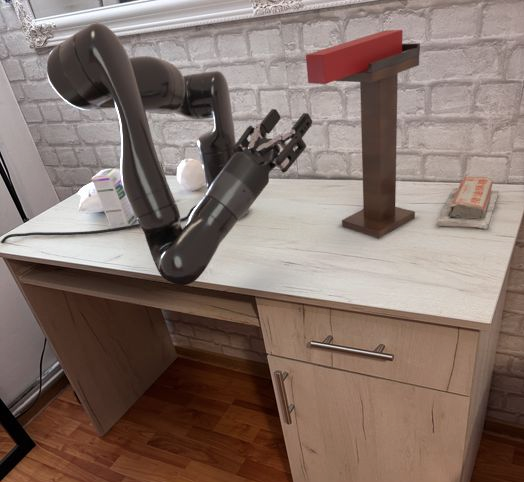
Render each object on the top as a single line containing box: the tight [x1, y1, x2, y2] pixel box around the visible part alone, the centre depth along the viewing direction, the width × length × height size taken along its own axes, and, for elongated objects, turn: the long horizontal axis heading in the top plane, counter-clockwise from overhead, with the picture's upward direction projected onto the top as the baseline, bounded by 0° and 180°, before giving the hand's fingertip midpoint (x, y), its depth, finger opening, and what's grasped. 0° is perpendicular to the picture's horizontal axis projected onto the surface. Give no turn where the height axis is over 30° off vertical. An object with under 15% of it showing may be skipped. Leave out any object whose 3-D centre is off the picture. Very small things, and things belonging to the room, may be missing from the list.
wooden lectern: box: [335, 42, 421, 240], centre depth 98 cm, size 13×11×34 cm
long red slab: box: [305, 29, 403, 85], centre depth 86 cm, size 20×4×4 cm, turn 128°
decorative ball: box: [175, 157, 206, 192], centre depth 144 cm, size 9×10×12 cm
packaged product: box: [437, 176, 499, 229], centre depth 105 cm, size 18×5×10 cm
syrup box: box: [90, 167, 137, 229], centre depth 129 cm, size 6×6×14 cm
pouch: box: [77, 182, 105, 214], centre depth 144 cm, size 8×19×20 cm
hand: (292, 114), depth 83 cm, fingers open, 8 cm apart
